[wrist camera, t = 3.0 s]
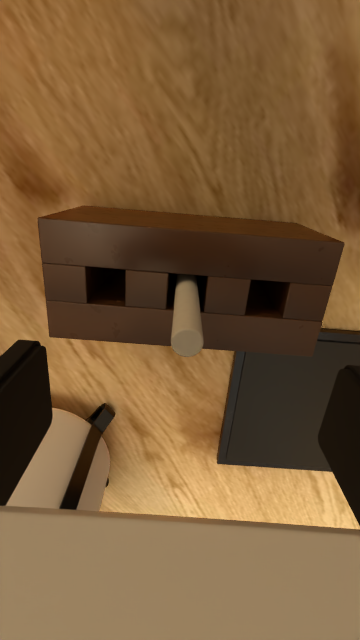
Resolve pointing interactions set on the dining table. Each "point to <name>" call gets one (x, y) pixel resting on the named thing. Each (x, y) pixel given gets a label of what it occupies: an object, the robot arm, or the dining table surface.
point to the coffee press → (68, 464)
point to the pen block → (186, 258)
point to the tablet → (283, 404)
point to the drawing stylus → (186, 317)
